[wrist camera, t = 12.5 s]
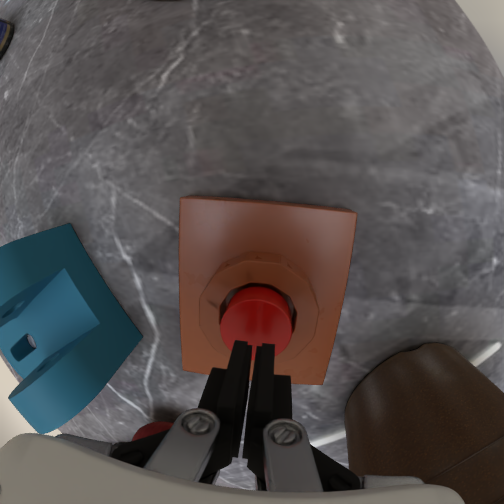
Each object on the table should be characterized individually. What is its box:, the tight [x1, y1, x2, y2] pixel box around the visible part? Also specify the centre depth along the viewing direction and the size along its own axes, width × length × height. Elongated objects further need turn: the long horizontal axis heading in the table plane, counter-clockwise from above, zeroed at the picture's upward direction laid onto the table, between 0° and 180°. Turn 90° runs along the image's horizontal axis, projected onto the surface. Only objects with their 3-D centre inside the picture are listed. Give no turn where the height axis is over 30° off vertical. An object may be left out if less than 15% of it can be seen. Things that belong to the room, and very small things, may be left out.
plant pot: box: [345, 343, 504, 504], centre depth 12 cm, size 16×16×16 cm
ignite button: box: [220, 286, 292, 360], centre depth 15 cm, size 4×4×2 cm
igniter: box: [179, 195, 357, 385], centre depth 17 cm, size 12×10×4 cm
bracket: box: [0, 223, 143, 434], centre depth 16 cm, size 18×10×10 cm, turn 122°
